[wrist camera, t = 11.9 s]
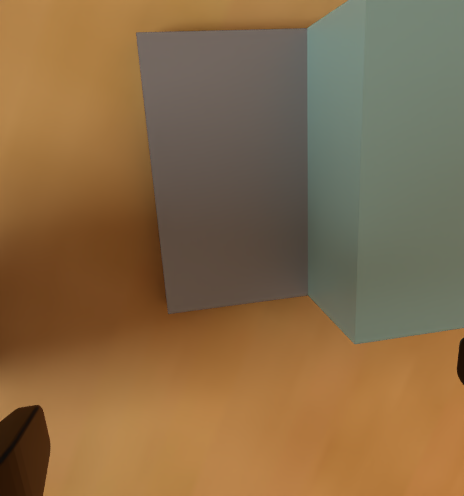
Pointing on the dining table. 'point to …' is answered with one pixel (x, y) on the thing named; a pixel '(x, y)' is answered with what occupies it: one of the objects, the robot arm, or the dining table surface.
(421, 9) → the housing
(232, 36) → the plate
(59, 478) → the dining table surface
